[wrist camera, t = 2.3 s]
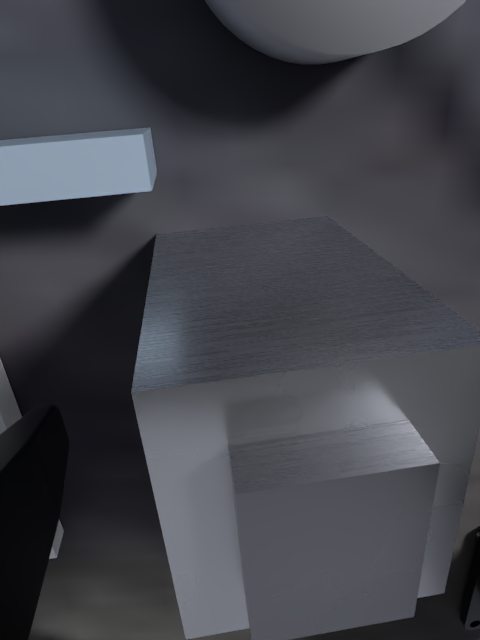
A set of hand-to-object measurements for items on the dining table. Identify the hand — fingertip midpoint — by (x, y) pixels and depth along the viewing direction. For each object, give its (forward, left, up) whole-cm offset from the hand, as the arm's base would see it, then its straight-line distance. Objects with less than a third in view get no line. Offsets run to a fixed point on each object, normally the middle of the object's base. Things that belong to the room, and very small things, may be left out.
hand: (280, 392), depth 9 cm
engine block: (0, 0, -4) cm, 4 cm away
